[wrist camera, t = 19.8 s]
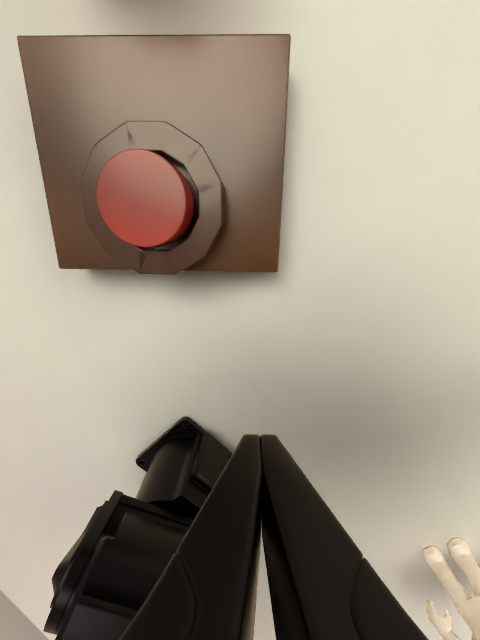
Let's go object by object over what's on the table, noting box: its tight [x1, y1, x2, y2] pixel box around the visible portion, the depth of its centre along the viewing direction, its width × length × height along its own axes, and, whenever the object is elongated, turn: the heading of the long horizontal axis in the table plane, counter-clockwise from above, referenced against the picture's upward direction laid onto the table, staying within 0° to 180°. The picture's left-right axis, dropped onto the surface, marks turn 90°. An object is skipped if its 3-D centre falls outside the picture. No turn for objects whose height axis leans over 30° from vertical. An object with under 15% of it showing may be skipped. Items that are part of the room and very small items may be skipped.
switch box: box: [17, 34, 291, 274], centre depth 15 cm, size 11×13×4 cm
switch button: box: [96, 149, 194, 247], centre depth 13 cm, size 4×4×2 cm
